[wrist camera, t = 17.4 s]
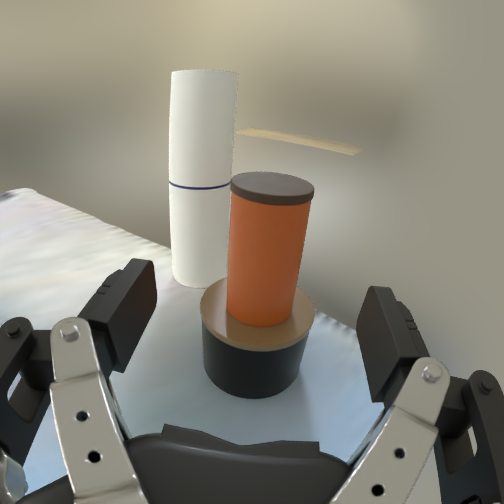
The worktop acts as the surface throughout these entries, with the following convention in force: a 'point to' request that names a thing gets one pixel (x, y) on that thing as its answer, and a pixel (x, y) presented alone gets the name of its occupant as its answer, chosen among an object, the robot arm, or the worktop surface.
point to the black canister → (252, 346)
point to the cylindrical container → (200, 173)
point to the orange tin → (265, 245)
